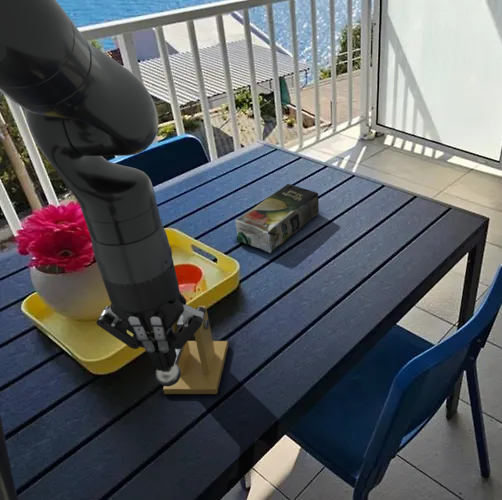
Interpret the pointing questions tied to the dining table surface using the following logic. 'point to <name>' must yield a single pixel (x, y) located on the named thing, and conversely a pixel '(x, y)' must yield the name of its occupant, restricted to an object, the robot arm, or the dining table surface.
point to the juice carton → (277, 217)
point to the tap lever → (175, 372)
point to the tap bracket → (200, 363)
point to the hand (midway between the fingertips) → (166, 365)
